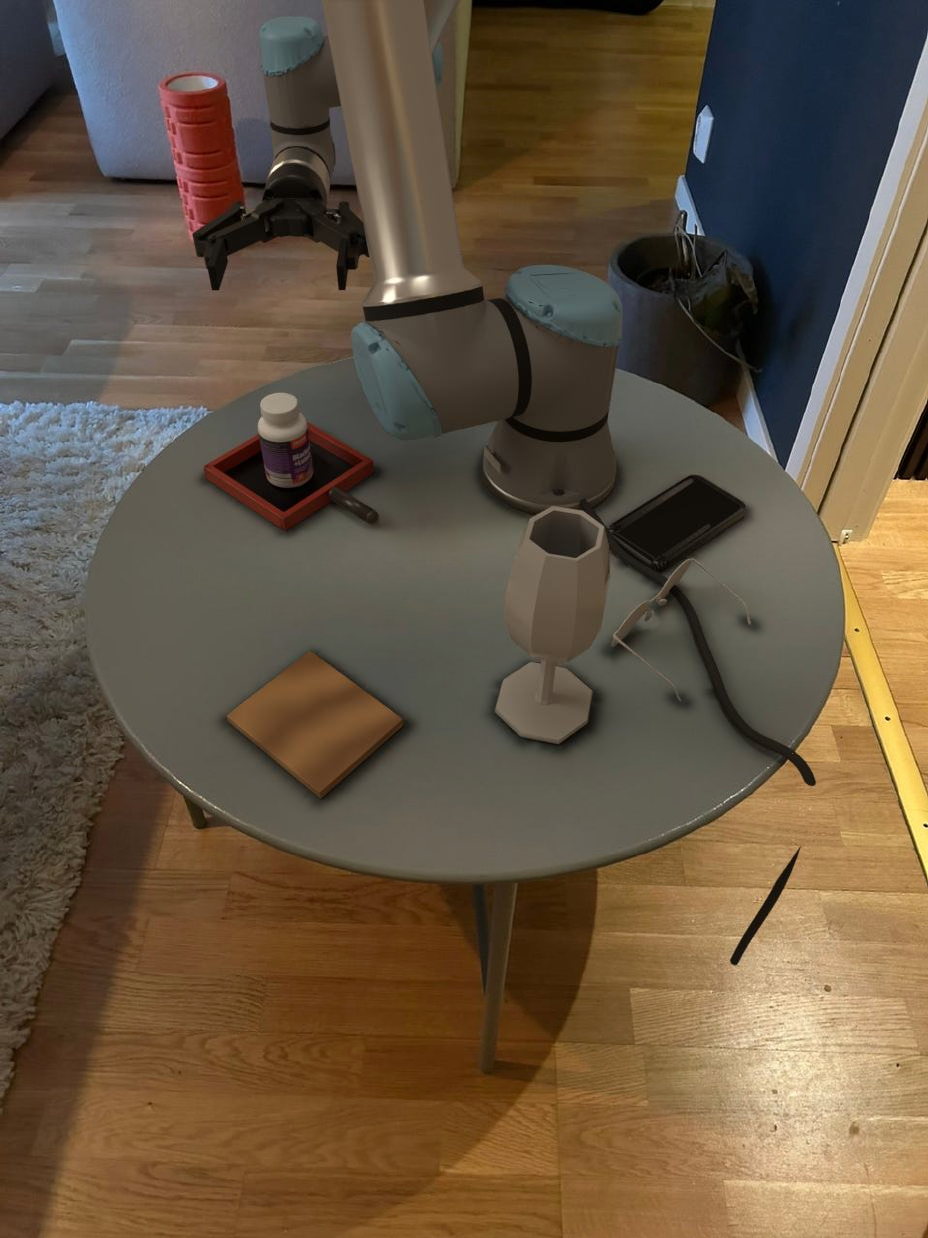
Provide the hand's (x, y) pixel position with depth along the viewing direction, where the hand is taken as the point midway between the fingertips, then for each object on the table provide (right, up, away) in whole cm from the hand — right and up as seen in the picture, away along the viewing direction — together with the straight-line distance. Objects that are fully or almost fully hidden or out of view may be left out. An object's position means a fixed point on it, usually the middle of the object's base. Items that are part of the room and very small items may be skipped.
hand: (277, 278), depth 97 cm
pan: (+3, -22, +6) cm, 23 cm away
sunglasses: (+41, -38, -9) cm, 57 cm away
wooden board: (+7, -46, -16) cm, 49 cm away
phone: (+43, -26, +2) cm, 51 cm away
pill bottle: (0, -20, +7) cm, 21 cm away
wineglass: (+27, -44, -14) cm, 54 cm away
